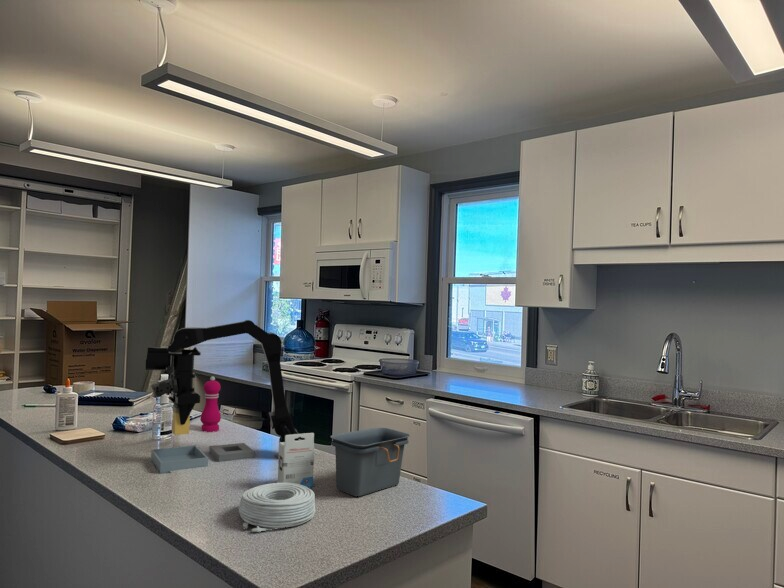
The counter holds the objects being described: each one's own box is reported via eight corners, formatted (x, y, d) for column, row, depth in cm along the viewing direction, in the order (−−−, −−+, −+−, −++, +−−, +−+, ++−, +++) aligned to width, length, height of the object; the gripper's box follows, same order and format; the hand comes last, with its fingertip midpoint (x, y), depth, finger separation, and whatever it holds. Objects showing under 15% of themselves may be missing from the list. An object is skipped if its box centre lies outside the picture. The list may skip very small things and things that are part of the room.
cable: (244, 537, 118) (245, 508, 119) (232, 507, 134) (233, 482, 135) (324, 527, 126) (325, 499, 126) (303, 500, 142) (304, 476, 142)
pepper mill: (224, 430, 209) (226, 376, 210) (208, 433, 203) (211, 378, 204) (211, 426, 213) (213, 374, 214) (195, 430, 207) (198, 376, 207)
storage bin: (378, 473, 165) (380, 425, 165) (418, 487, 154) (420, 435, 155) (322, 489, 149) (325, 435, 149) (363, 506, 139) (366, 448, 139)
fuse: (189, 433, 166) (190, 406, 166) (174, 435, 163) (175, 407, 163) (186, 430, 169) (187, 404, 169) (171, 431, 167) (172, 405, 167)
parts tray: (207, 467, 163) (208, 457, 163) (160, 473, 156) (160, 462, 156) (195, 454, 176) (195, 445, 176) (150, 459, 169) (151, 449, 169)
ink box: (307, 482, 155) (309, 428, 155) (313, 487, 150) (315, 432, 151) (276, 485, 151) (279, 430, 151) (281, 491, 146) (284, 434, 147)
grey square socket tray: (254, 459, 174) (254, 451, 174) (218, 463, 168) (219, 455, 168) (243, 450, 183) (243, 442, 183) (209, 454, 177) (209, 446, 177)
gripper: (148, 367, 170) (146, 418, 170) (160, 375, 154) (157, 432, 154) (186, 366, 176) (184, 415, 176) (201, 374, 160) (199, 428, 160)
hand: (181, 422), depth 166 cm, fingers closed on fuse, 4 cm apart
